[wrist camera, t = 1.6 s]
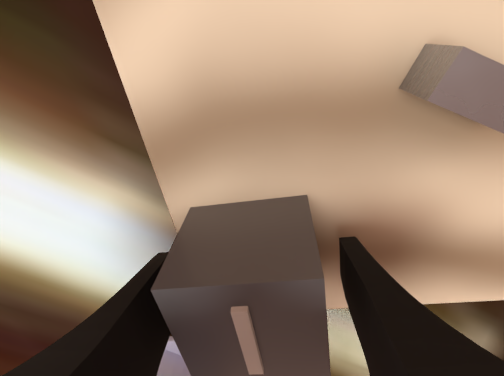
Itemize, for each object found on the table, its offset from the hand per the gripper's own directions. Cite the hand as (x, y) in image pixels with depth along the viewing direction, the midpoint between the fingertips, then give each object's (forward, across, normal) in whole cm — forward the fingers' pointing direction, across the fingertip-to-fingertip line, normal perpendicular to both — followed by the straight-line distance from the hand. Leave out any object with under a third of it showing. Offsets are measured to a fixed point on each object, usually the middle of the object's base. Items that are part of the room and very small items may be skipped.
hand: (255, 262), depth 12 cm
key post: (+1, -8, -6) cm, 10 cm away
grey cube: (+1, 0, 0) cm, 1 cm away
